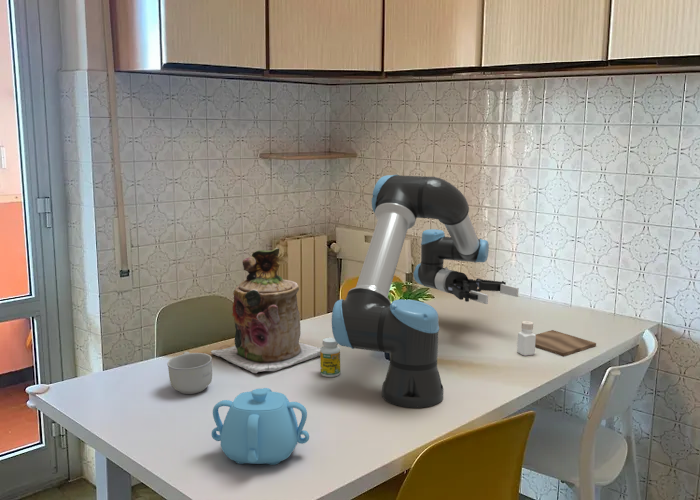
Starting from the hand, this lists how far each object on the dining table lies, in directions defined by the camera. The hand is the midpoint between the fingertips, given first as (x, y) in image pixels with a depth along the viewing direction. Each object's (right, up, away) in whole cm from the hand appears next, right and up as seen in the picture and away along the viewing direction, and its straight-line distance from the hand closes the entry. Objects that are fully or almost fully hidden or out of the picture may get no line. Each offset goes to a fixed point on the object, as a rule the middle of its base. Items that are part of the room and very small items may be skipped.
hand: (502, 296), depth 205 cm
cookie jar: (-70, -17, -8) cm, 72 cm away
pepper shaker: (+6, -17, -5) cm, 18 cm away
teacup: (-86, -21, -32) cm, 94 cm away
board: (+18, -15, +4) cm, 23 cm away
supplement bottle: (-51, -20, -22) cm, 59 cm away
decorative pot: (-64, -28, -66) cm, 96 cm away
